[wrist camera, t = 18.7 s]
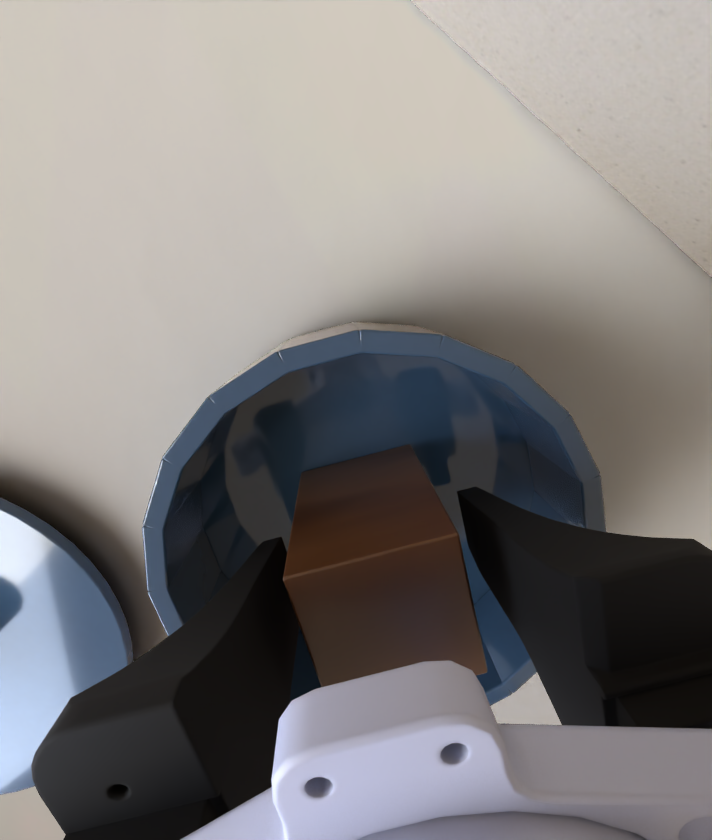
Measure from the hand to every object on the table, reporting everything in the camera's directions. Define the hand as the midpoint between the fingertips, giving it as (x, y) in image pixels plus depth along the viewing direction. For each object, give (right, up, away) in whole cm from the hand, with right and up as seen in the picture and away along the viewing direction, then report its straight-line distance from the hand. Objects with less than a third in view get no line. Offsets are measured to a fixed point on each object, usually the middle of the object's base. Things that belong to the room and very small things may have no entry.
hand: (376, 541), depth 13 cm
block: (0, +1, +2) cm, 2 cm away
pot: (0, +1, +3) cm, 3 cm away
